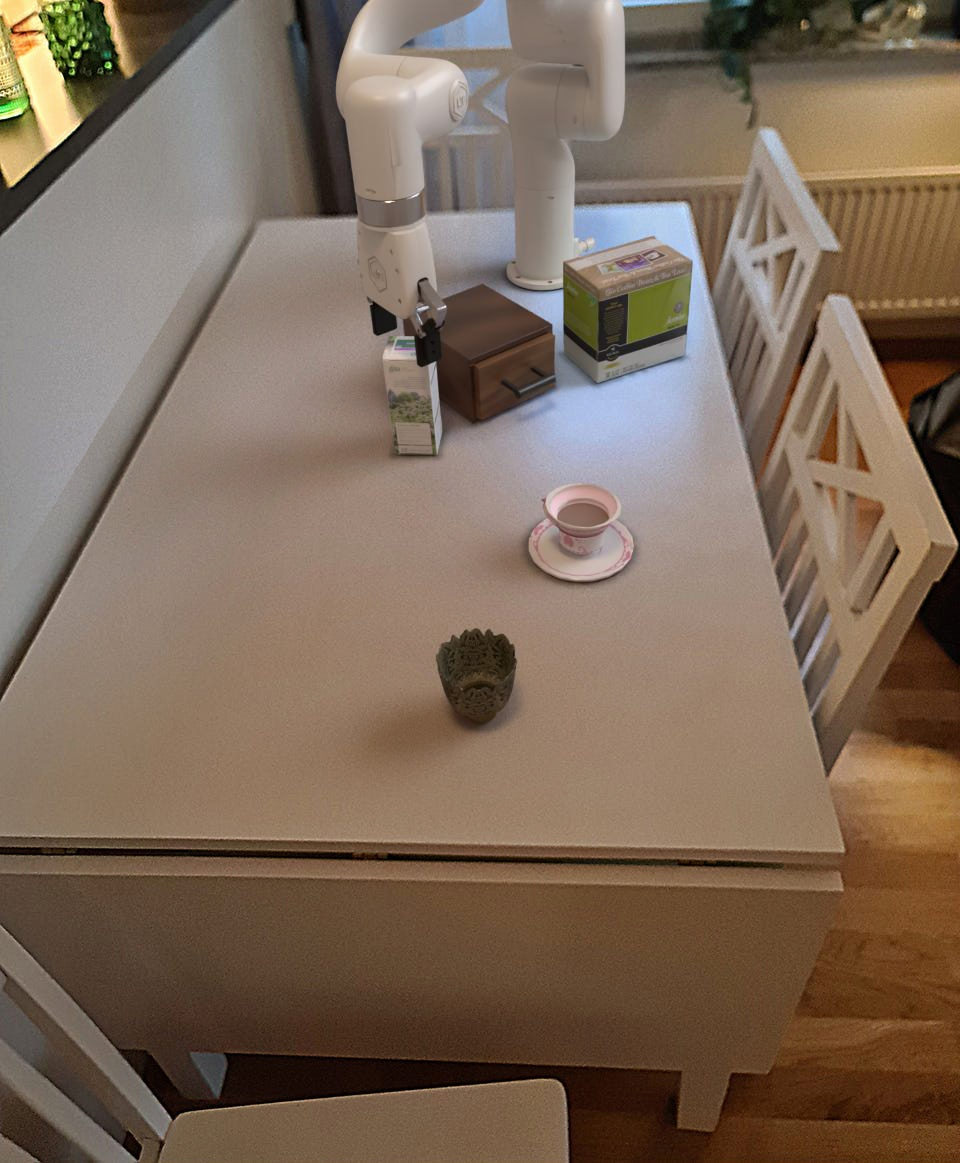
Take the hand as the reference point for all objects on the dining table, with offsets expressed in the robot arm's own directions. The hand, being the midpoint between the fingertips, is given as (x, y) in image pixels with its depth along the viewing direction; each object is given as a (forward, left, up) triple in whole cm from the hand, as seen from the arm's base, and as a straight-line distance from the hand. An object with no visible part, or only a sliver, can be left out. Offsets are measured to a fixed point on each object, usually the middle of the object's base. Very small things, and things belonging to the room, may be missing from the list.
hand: (407, 346), depth 115 cm
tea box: (-35, +1, -15) cm, 38 cm away
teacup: (-3, +29, -15) cm, 33 cm away
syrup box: (0, 0, -15) cm, 15 cm away
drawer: (-15, -3, -13) cm, 21 cm away
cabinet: (-15, -7, -14) cm, 22 cm away
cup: (+20, +41, -15) cm, 48 cm away
